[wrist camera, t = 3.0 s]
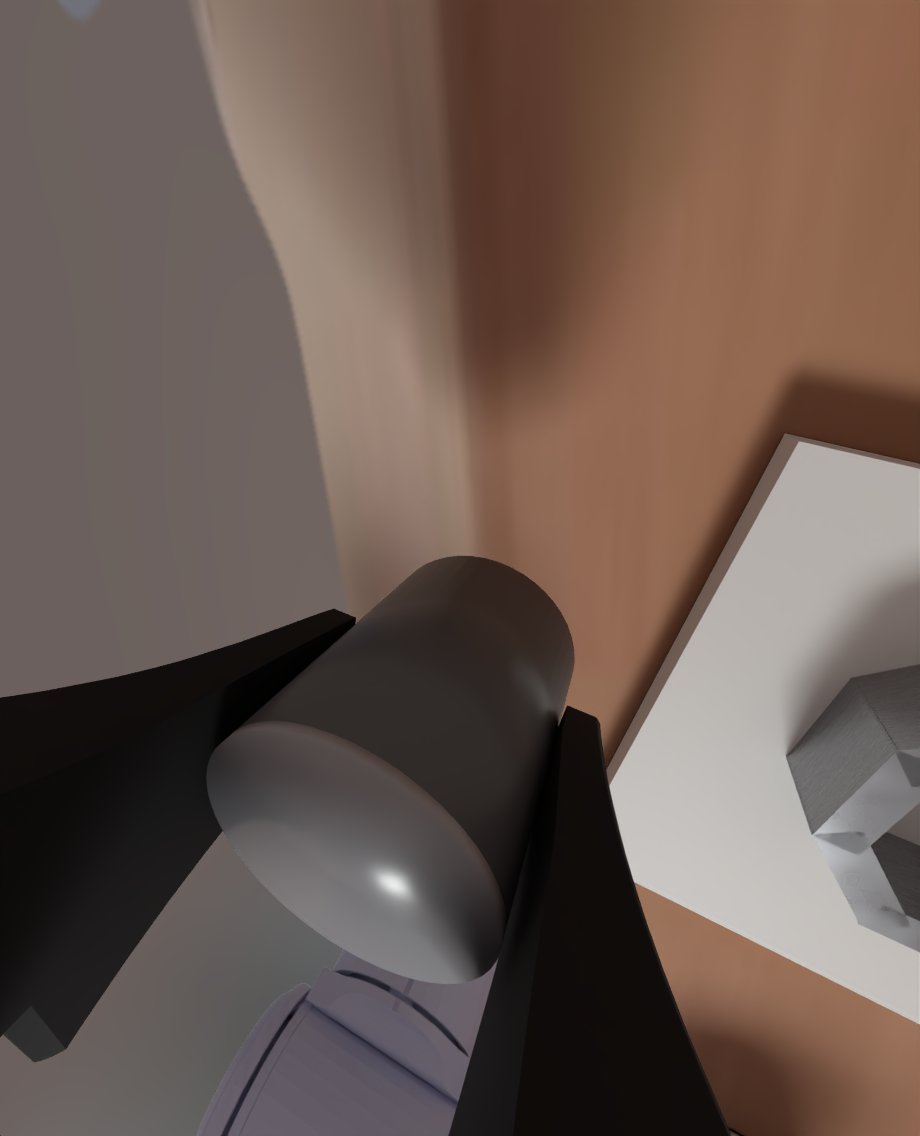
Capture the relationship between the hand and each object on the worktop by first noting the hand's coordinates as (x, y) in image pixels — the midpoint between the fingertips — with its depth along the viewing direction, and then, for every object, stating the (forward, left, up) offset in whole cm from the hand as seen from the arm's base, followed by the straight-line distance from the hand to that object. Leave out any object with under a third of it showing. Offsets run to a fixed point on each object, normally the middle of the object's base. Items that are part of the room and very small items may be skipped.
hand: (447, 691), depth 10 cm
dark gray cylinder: (0, 0, -2) cm, 2 cm away
